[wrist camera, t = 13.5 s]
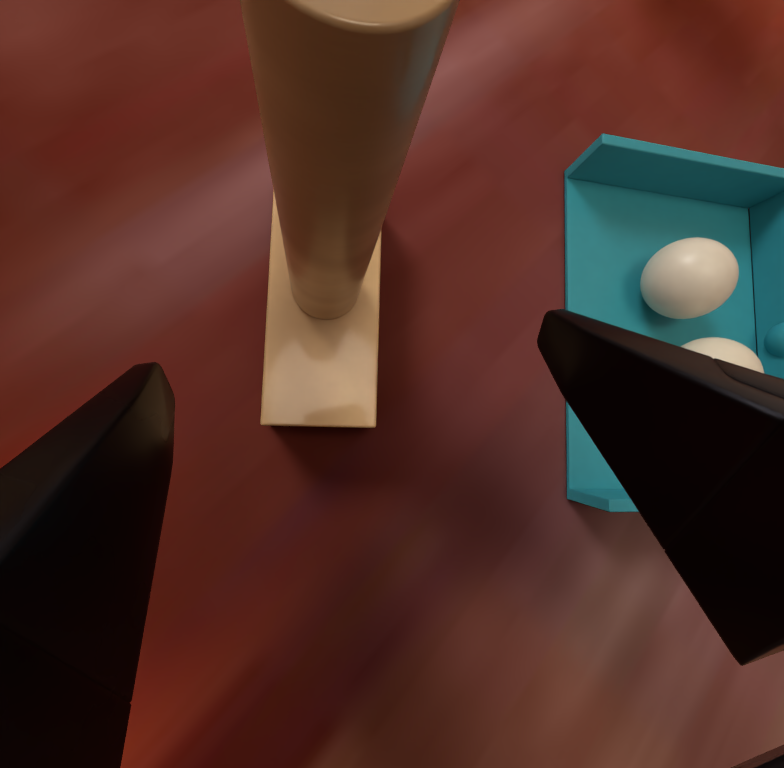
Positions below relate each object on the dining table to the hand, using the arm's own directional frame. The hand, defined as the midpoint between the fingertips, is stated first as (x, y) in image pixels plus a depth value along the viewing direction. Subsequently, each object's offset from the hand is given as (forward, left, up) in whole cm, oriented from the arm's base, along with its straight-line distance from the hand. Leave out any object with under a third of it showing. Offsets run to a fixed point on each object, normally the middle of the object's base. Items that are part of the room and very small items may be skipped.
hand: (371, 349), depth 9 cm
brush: (+3, -1, -8) cm, 8 cm away
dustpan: (-7, -19, -8) cm, 21 cm away
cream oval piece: (-2, -15, -7) cm, 16 cm away
